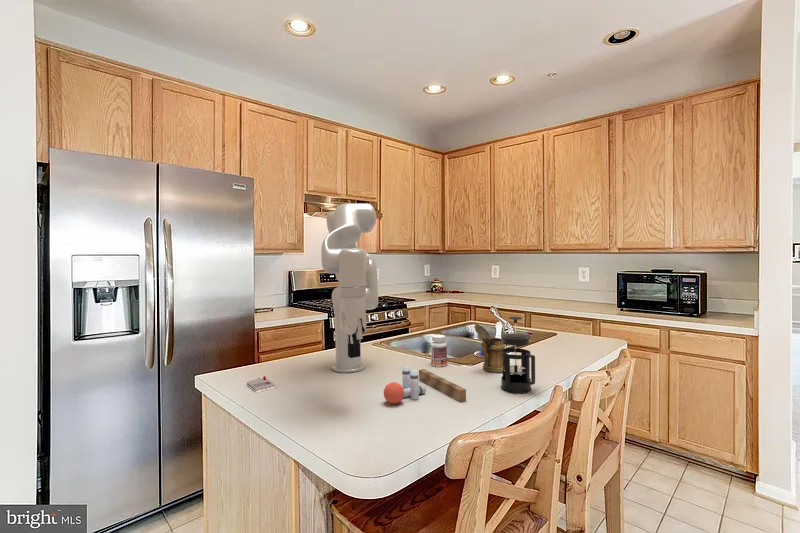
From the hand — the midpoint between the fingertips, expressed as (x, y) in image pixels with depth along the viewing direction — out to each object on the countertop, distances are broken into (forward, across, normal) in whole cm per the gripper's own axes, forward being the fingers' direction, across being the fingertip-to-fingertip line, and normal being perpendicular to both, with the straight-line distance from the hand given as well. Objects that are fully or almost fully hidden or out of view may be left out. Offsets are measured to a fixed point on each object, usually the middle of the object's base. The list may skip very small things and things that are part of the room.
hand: (354, 356), depth 116 cm
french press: (+15, +12, +50) cm, 54 cm away
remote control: (+16, -34, -21) cm, 43 cm away
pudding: (+16, -26, +70) cm, 76 cm away
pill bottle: (+15, -24, +44) cm, 52 cm away
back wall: (+15, 0, +29) cm, 32 cm away
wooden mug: (+15, -8, +56) cm, 58 cm away
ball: (+12, +3, +11) cm, 16 cm away
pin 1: (+15, -2, +18) cm, 23 cm away
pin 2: (+15, +3, +18) cm, 23 cm away
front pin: (+13, 0, +14) cm, 20 cm away
